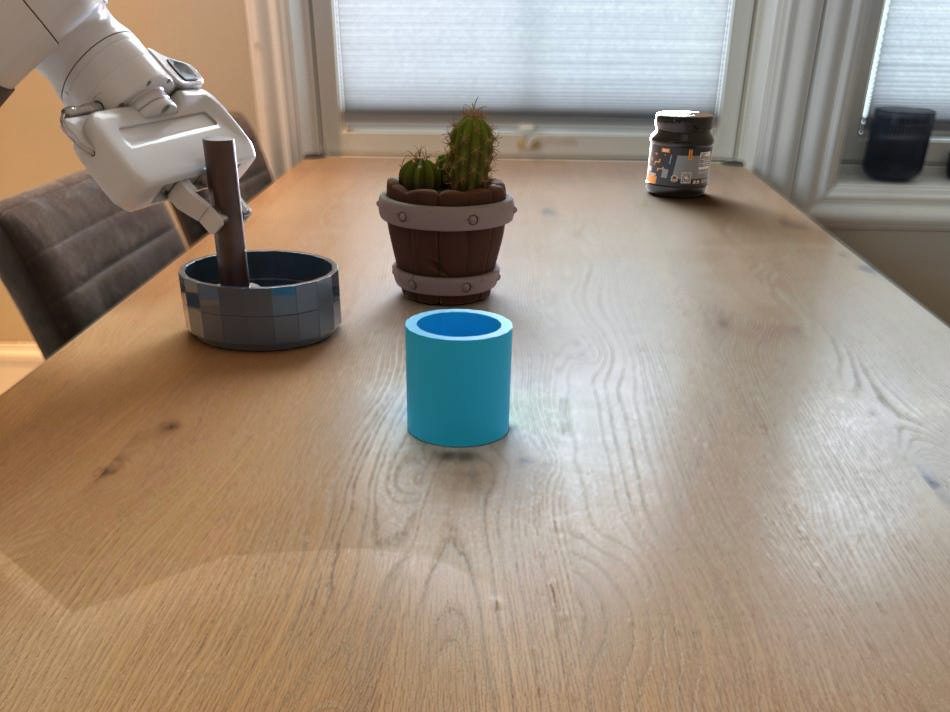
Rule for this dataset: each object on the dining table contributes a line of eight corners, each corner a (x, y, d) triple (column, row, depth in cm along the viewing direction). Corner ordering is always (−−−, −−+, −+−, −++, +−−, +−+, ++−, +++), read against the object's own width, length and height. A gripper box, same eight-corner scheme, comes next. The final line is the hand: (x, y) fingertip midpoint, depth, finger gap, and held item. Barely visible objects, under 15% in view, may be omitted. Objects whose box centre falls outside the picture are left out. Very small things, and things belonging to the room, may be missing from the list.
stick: (203, 308, 96) (180, 137, 87) (245, 299, 98) (226, 133, 90) (230, 319, 93) (209, 143, 84) (272, 309, 96) (256, 139, 87)
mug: (517, 444, 75) (522, 339, 71) (412, 448, 74) (410, 342, 70) (492, 390, 85) (495, 294, 81) (399, 393, 84) (396, 296, 80)
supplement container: (644, 186, 172) (652, 109, 165) (705, 189, 171) (715, 111, 164) (644, 197, 163) (653, 116, 157) (708, 200, 162) (719, 118, 156)
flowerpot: (352, 293, 110) (342, 91, 99) (447, 270, 120) (448, 83, 108) (444, 321, 102) (444, 104, 91) (538, 294, 111) (549, 95, 100)
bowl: (159, 327, 98) (149, 265, 95) (284, 300, 107) (279, 242, 104) (243, 364, 90) (235, 297, 86) (372, 332, 98) (369, 270, 95)
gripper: (65, 80, 78) (189, 222, 81) (202, 64, 94) (302, 182, 97) (31, 139, 82) (152, 272, 85) (169, 113, 98) (267, 226, 101)
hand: (233, 224), depth 91 cm, fingers closed on stick, 3 cm apart
